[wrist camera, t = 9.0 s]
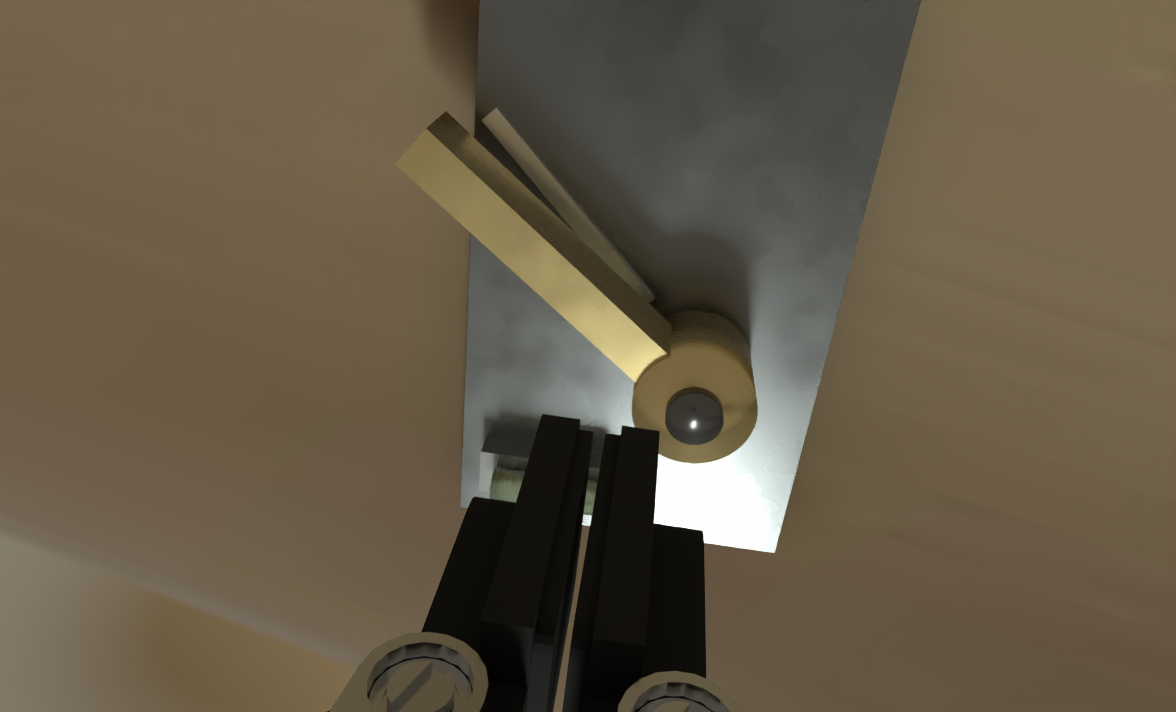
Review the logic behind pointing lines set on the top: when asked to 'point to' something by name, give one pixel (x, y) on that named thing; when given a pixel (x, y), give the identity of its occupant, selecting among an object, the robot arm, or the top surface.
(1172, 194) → the top surface
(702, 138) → the flat grey rectangular plate
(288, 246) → the top surface
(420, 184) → the lever with round hub
